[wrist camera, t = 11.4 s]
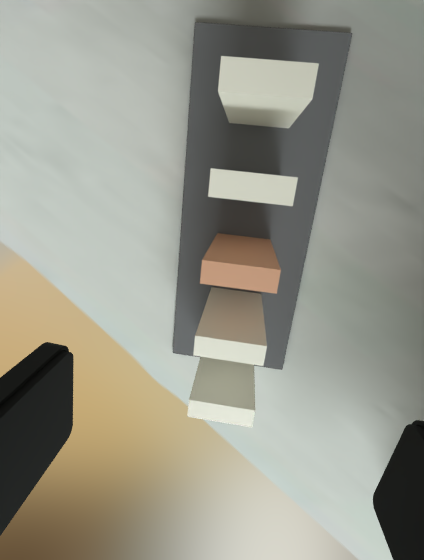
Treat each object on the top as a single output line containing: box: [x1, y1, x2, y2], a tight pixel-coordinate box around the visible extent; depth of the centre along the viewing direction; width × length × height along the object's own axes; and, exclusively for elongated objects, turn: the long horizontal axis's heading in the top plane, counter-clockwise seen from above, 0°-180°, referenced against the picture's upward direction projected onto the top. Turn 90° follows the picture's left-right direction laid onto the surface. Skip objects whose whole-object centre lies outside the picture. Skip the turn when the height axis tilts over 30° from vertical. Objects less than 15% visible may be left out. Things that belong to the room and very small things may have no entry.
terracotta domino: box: [200, 233, 281, 294], centre depth 24 cm, size 2×5×10 cm, turn 85°
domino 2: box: [208, 168, 298, 206], centre depth 22 cm, size 2×5×10 cm, turn 85°
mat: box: [173, 22, 352, 370], centre depth 28 cm, size 30×12×1 cm, turn 175°
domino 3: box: [193, 287, 267, 366], centre depth 26 cm, size 2×5×10 cm, turn 85°
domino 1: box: [218, 56, 319, 128], centre depth 21 cm, size 2×5×10 cm, turn 84°
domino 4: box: [188, 357, 255, 427], centre depth 28 cm, size 2×5×10 cm, turn 84°
